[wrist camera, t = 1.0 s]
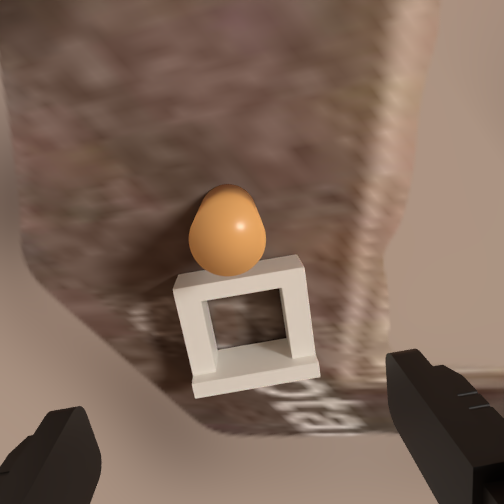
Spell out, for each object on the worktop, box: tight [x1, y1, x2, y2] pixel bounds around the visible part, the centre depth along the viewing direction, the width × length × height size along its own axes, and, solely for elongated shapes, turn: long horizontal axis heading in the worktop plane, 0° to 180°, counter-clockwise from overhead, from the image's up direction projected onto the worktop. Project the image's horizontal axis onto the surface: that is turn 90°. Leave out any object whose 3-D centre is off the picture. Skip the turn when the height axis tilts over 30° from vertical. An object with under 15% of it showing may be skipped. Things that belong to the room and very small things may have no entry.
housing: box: [173, 254, 320, 399], centre depth 28 cm, size 8×9×4 cm
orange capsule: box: [189, 184, 266, 276], centre depth 24 cm, size 4×4×8 cm
